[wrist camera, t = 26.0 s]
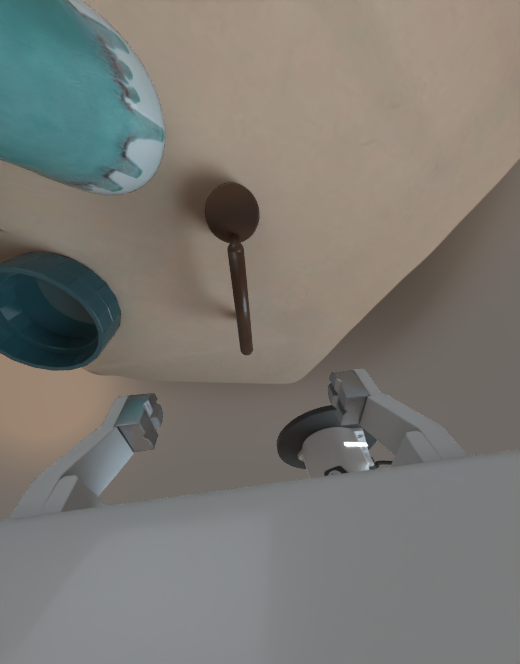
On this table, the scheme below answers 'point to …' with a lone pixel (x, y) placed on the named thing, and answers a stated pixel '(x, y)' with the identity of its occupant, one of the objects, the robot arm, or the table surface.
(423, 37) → the table surface
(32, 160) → the vase
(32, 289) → the bowl
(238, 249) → the ladle
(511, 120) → the table surface
